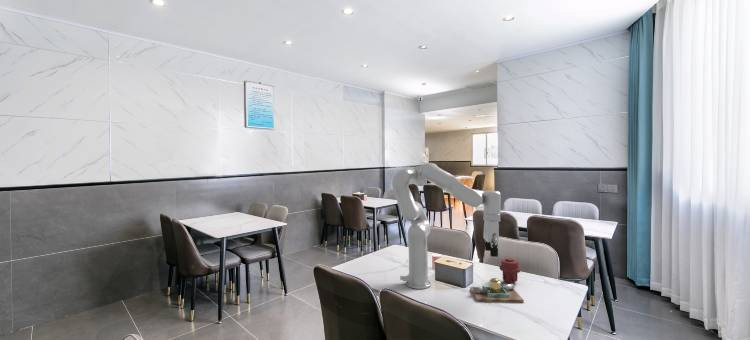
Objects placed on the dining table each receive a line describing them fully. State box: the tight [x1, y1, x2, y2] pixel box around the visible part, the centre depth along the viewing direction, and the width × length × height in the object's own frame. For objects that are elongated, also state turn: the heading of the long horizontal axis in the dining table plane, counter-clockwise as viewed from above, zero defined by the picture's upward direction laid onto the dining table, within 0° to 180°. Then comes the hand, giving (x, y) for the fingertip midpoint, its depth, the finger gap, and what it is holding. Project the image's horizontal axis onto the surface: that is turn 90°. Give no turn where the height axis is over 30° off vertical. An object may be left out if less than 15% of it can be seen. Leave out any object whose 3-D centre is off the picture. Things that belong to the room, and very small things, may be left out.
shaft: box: [501, 283, 515, 292], centre depth 152 cm, size 5×4×4 cm
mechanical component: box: [499, 257, 522, 285], centre depth 165 cm, size 12×10×10 cm
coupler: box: [489, 277, 502, 293], centre depth 149 cm, size 5×5×6 cm
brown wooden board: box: [470, 285, 525, 304], centre depth 149 cm, size 20×14×4 cm
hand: (491, 253), depth 151 cm, fingers open, 9 cm apart
